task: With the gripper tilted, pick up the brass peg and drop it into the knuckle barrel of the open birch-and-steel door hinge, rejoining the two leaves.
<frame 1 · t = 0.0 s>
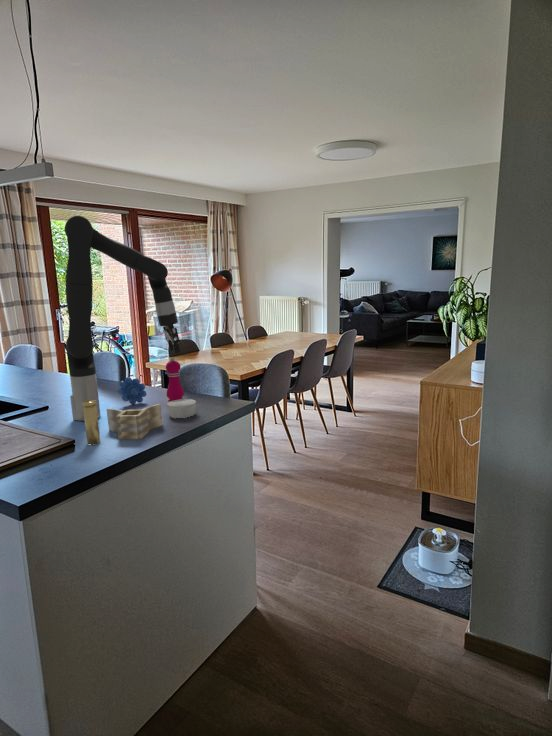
hand: (175, 351, 197), 22 cm above the countertop, tool pointing down, fingers open, 8 cm apart
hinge: (134, 435, 163), on the countertop
pepper mill: (176, 404, 202), on the countertop
ramekin: (182, 416, 185), on the countertop
brass peg: (93, 443, 157), on the countertop
grapes: (134, 405, 203), on the countertop
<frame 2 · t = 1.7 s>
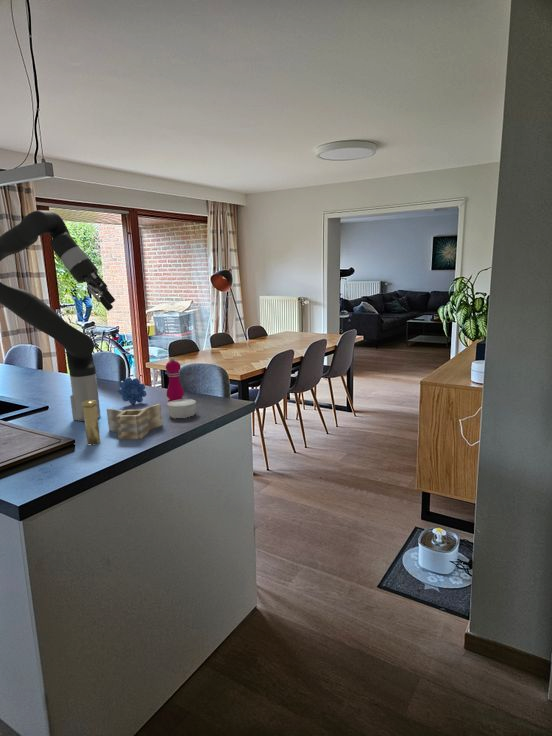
hand: (111, 305, 155), 44 cm above the countertop, tool tilted 35°, fingers open, 8 cm apart
nothing on the countertop moved.
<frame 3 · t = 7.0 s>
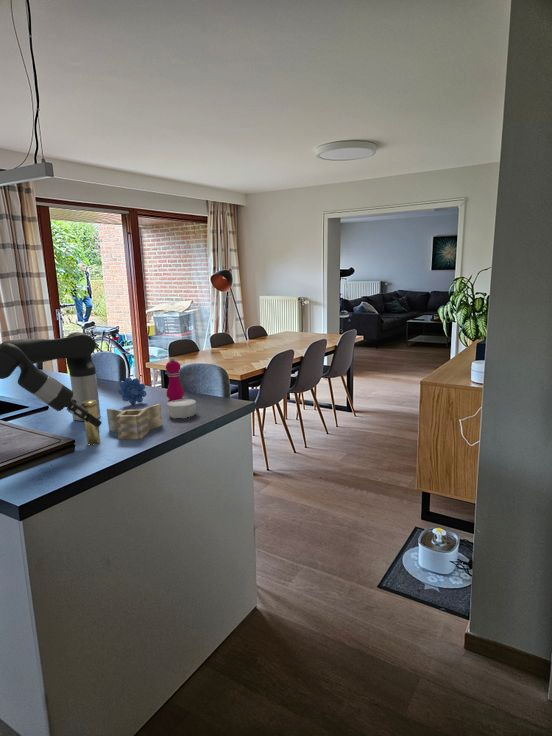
hand: (97, 423, 156), 6 cm above the countertop, tool tilted 45°, fingers closed on brass peg, 4 cm apart
brass peg: (93, 443, 156), on the countertop, touching gripper
everything else where it was.
when the fingers open (12 cm above the countertop, at t = 12.2 s): brass peg drops 5 cm, resting in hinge.
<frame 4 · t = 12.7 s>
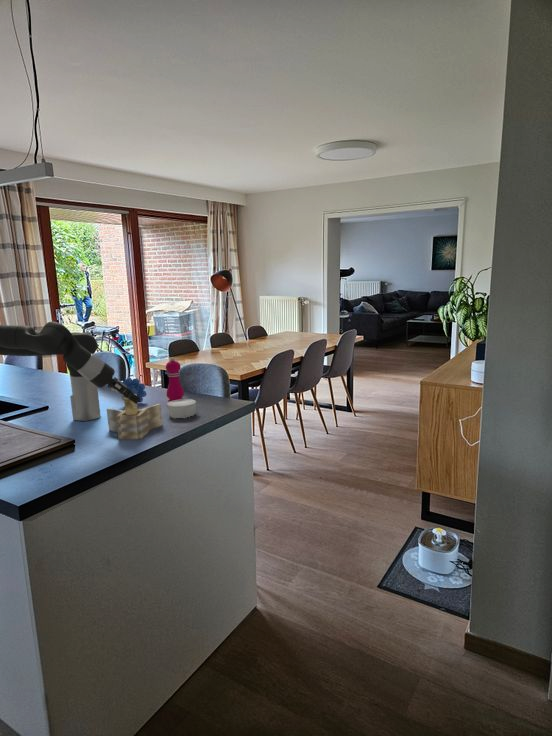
hand: (134, 399, 161), 13 cm above the countertop, tool tilted 45°, fingers open, 8 cm apart
brass peg: (133, 435, 163), resting in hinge
everything else where it was.
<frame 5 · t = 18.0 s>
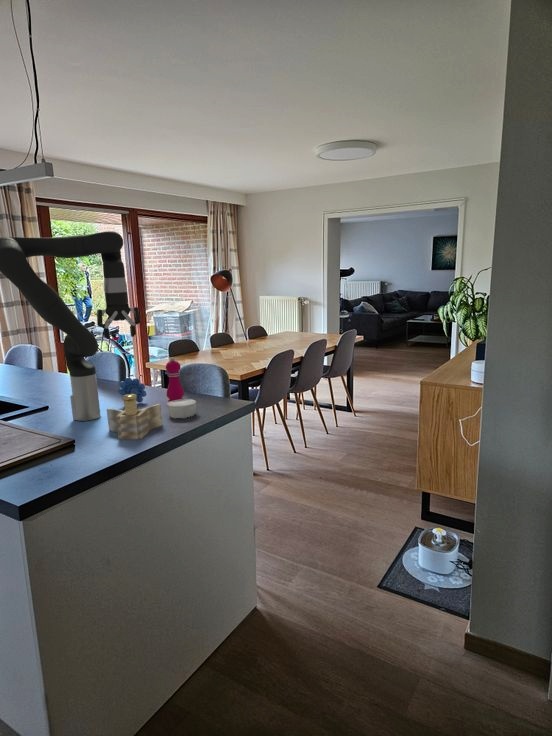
hand: (120, 337, 169), 32 cm above the countertop, tool pointing down, fingers open, 8 cm apart
nothing on the countertop moved.
at the end: brass peg 0.1 cm off-centre on the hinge, point 0.0 cm above the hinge's base; brass peg tilted 0°; the gripper is holding nothing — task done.
